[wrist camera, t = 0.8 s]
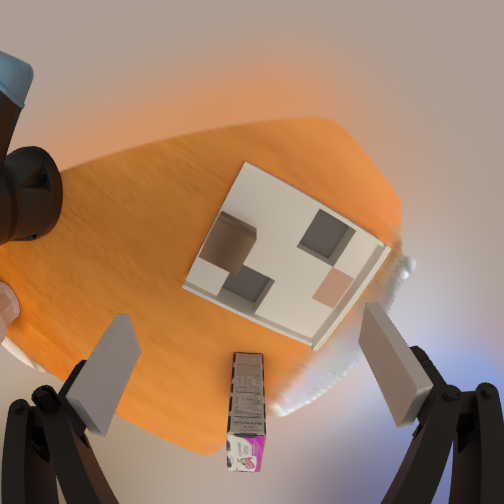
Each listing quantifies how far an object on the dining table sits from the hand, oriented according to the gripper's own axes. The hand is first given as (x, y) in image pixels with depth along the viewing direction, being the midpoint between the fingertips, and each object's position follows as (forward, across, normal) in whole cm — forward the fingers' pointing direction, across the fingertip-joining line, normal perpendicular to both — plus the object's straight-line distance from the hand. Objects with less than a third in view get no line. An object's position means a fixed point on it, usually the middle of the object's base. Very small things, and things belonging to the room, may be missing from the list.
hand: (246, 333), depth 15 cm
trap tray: (+22, +4, -5) cm, 23 cm away
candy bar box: (+23, -2, -26) cm, 35 cm away
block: (+20, -2, -1) cm, 20 cm away
